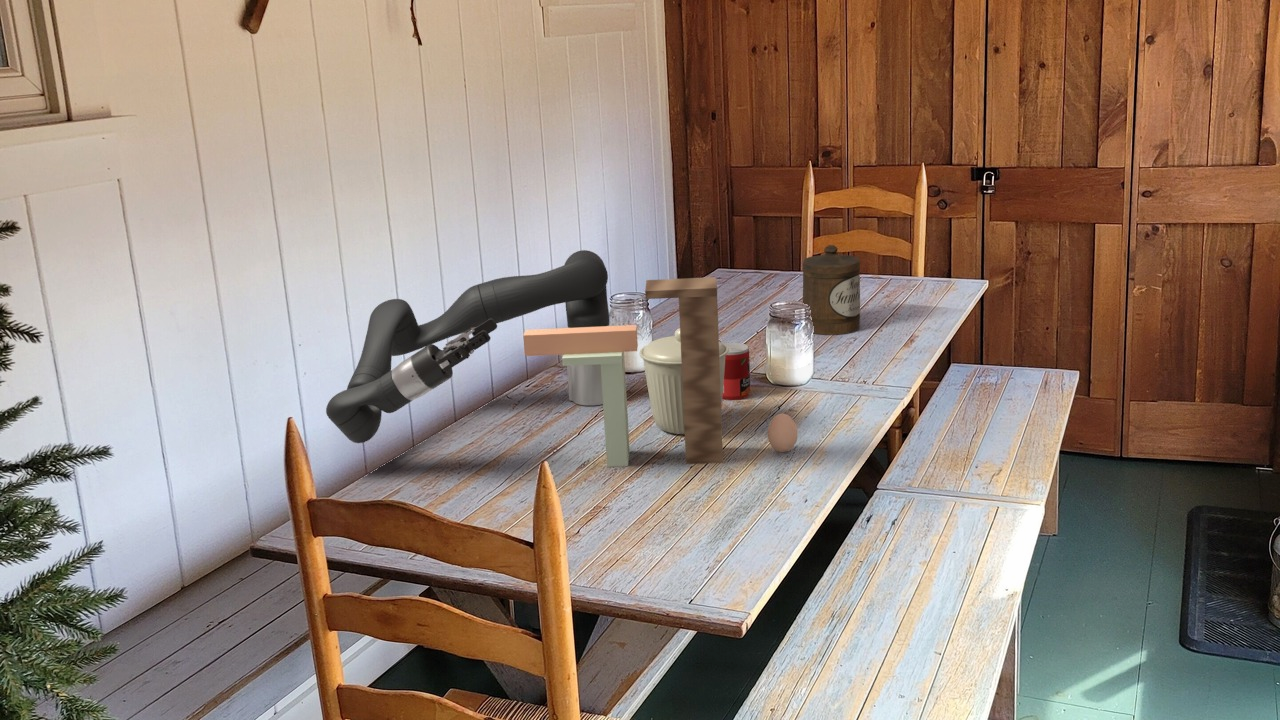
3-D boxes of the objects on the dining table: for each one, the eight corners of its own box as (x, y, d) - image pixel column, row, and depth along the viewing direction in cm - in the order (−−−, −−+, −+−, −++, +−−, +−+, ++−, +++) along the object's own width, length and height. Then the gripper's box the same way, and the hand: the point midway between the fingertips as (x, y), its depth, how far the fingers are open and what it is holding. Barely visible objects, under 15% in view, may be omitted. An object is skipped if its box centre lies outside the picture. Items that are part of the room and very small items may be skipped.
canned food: (748, 400, 262) (747, 352, 259) (712, 400, 264) (710, 352, 261) (752, 389, 269) (751, 342, 266) (716, 389, 271) (715, 342, 268)
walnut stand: (654, 466, 228) (645, 291, 218) (655, 449, 236) (646, 280, 227) (723, 463, 227) (717, 287, 218) (721, 446, 236) (715, 277, 226)
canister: (670, 448, 237) (665, 345, 231) (628, 423, 252) (622, 326, 246) (748, 429, 244) (745, 329, 238) (702, 406, 260) (698, 312, 254)
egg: (797, 457, 229) (796, 419, 226) (766, 456, 230) (765, 419, 227) (798, 446, 234) (798, 409, 232) (768, 445, 235) (768, 409, 233)
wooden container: (846, 337, 306) (846, 252, 300) (793, 332, 314) (792, 249, 308) (869, 323, 318) (869, 241, 312) (817, 318, 326) (816, 238, 320)
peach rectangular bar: (524, 356, 225) (523, 335, 224) (527, 350, 229) (525, 329, 228) (637, 351, 224) (636, 330, 223) (637, 345, 228) (636, 324, 227)
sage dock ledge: (570, 469, 229) (562, 358, 222) (574, 452, 237) (566, 344, 231) (628, 467, 228) (621, 355, 222) (629, 450, 237) (623, 342, 230)
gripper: (402, 367, 221) (473, 321, 218) (418, 346, 235) (485, 302, 232) (425, 400, 223) (497, 355, 220) (440, 377, 236) (508, 334, 233)
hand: (491, 328), depth 226 cm, fingers open, 8 cm apart
